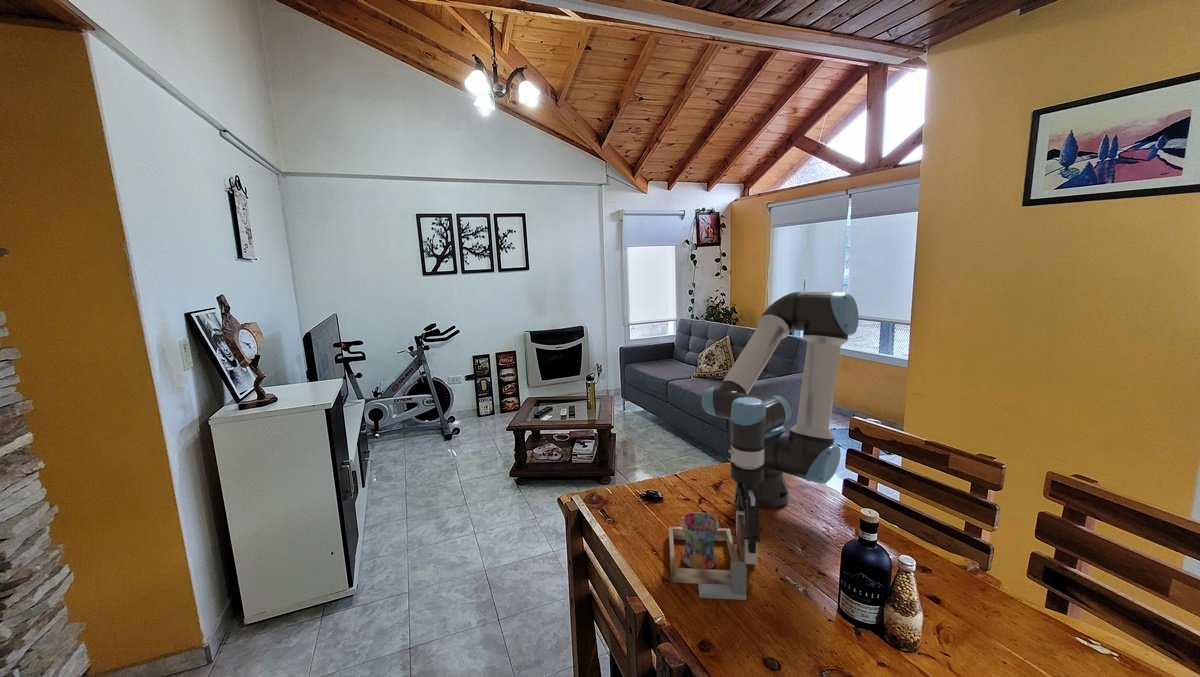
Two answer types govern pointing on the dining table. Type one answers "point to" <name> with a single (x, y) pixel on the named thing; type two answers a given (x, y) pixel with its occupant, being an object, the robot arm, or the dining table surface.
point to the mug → (699, 540)
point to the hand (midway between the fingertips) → (746, 548)
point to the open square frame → (708, 574)
